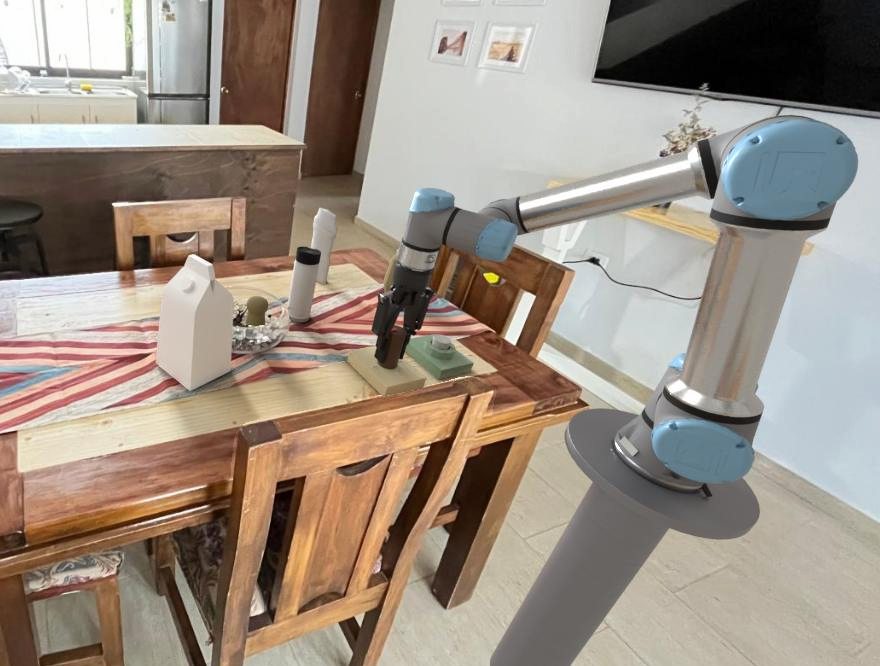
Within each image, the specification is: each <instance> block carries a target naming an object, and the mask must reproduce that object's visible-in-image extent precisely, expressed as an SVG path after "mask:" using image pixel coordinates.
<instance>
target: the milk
mask: <svg viewBox="0 0 880 666" xmlns="http://www.w3.org/2000/svg"><path fill="white" fill-rule="evenodd" d="M234 305H235V299H234V296H233V294H232V293H231V291H229V290H228V289H227V288H226V287H225V286H224V285H222V284H221V283H220V282H219V281H218V280H217V279H216V274H215V268H214V265H213V263H211V262H209V261H207V260H205V259H203V258H202V257H200V256H198V255H197V254H195V253H193V254H189V255H188V256H187V258H186V260H185V262H184V266H182V267H181V268H180V270H178V272H177V273H176V274H175V275H173V277H172V278H171V279H170V280H169V281H168V282H167V283H166V285H165V286H164V288H163V289H162V291H161V298H160V311H159V322H158V333H157V343H156V353H155V364H156V365H157V366H158V367H159V368H160V369H162V370H163V371H165V372H166V373H167V374H168V375H169V376H170V377H172V378H173V379H174V380H176V381H177V382H178V383H179V384H181V385H182V386H183V387H184V388H185V389H187V391H189V392H191V391H193V390H196V389H197V388H199V387H202V386H204V385H206V384H208V383H210V382H211V381H214V380H216V379H217V378H220V377H221V376H223V375H225V374H227V373H230V372H231V371H232V350H233V327H234V308H235V307H234Z"/></svg>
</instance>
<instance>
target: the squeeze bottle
mask: <svg viewBox="0 0 880 666" xmlns="http://www.w3.org/2000/svg"><path fill="white" fill-rule="evenodd" d="M398 252H399V248H397V250H396V254H394V255H393V256H392V257H391V259H390V262H389V264H388V268H387V270H386V273H385V275H384V278H383V290H384V291H383V292H384V293H386V292H388V291H389V290H390V287H391V286H392V284H393V277H392V275H393V271H394V267H395V263H396V261H398V260H397V256H398Z"/></svg>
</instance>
